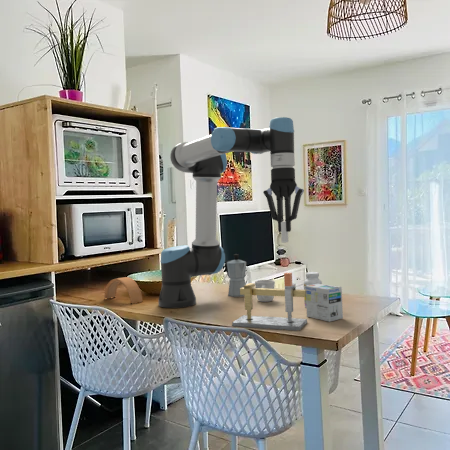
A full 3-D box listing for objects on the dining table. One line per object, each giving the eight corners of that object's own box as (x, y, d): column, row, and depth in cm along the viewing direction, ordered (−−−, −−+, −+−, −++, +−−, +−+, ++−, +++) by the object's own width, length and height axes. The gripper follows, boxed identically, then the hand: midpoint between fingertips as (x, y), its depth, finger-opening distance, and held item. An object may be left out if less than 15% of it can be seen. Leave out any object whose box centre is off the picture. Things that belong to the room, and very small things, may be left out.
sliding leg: (285, 321, 145) (284, 273, 144) (290, 317, 150) (289, 270, 149) (292, 321, 144) (290, 273, 143) (296, 317, 149) (295, 271, 148)
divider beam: (238, 319, 151) (236, 285, 151) (243, 315, 156) (242, 282, 155) (303, 323, 142) (302, 287, 142) (307, 319, 147) (306, 284, 146)
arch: (131, 304, 190) (130, 280, 190) (104, 299, 203) (103, 277, 203) (142, 302, 194) (141, 278, 194) (115, 297, 208) (114, 275, 207)
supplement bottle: (326, 306, 170) (325, 272, 170) (316, 309, 166) (315, 274, 165) (311, 304, 175) (309, 271, 175) (301, 307, 170) (299, 273, 170)
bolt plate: (232, 326, 148) (232, 322, 148) (243, 318, 157) (243, 315, 157) (299, 330, 139) (299, 326, 139) (307, 322, 148) (306, 318, 148)
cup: (273, 304, 178) (273, 283, 178) (253, 304, 180) (252, 284, 179) (276, 298, 189) (275, 279, 188) (257, 298, 190) (256, 279, 190)
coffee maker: (254, 295, 197) (253, 254, 197) (238, 298, 192) (236, 255, 192) (234, 291, 210) (232, 252, 209) (218, 294, 205) (216, 253, 204)
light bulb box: (343, 318, 151) (342, 286, 151) (329, 322, 147) (328, 289, 147) (319, 313, 160) (318, 282, 160) (305, 316, 156) (304, 285, 156)
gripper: (259, 168, 144) (261, 243, 145) (299, 165, 139) (302, 243, 140) (266, 169, 151) (269, 241, 152) (305, 167, 145) (308, 241, 147)
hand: (284, 242), depth 146 cm, fingers closed
